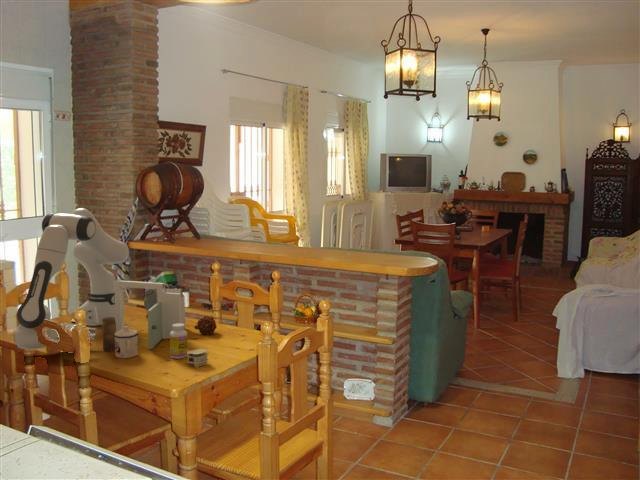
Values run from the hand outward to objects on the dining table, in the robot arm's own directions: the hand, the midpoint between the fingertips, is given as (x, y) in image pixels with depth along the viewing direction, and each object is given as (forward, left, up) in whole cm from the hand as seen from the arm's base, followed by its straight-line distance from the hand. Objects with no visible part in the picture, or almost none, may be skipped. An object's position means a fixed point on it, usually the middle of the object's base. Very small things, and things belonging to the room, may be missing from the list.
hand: (95, 334), depth 250 cm
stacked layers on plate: (+48, -4, -8) cm, 48 cm away
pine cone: (+31, +36, -7) cm, 48 cm away
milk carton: (+15, +37, -7) cm, 40 cm away
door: (+19, +15, -6) cm, 25 cm away
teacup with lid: (+16, -3, -7) cm, 18 cm away
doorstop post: (+5, +3, -7) cm, 9 cm away
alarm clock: (-5, +55, -7) cm, 55 cm away
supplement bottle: (+36, +3, -7) cm, 37 cm away
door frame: (+10, +24, -7) cm, 27 cm away
